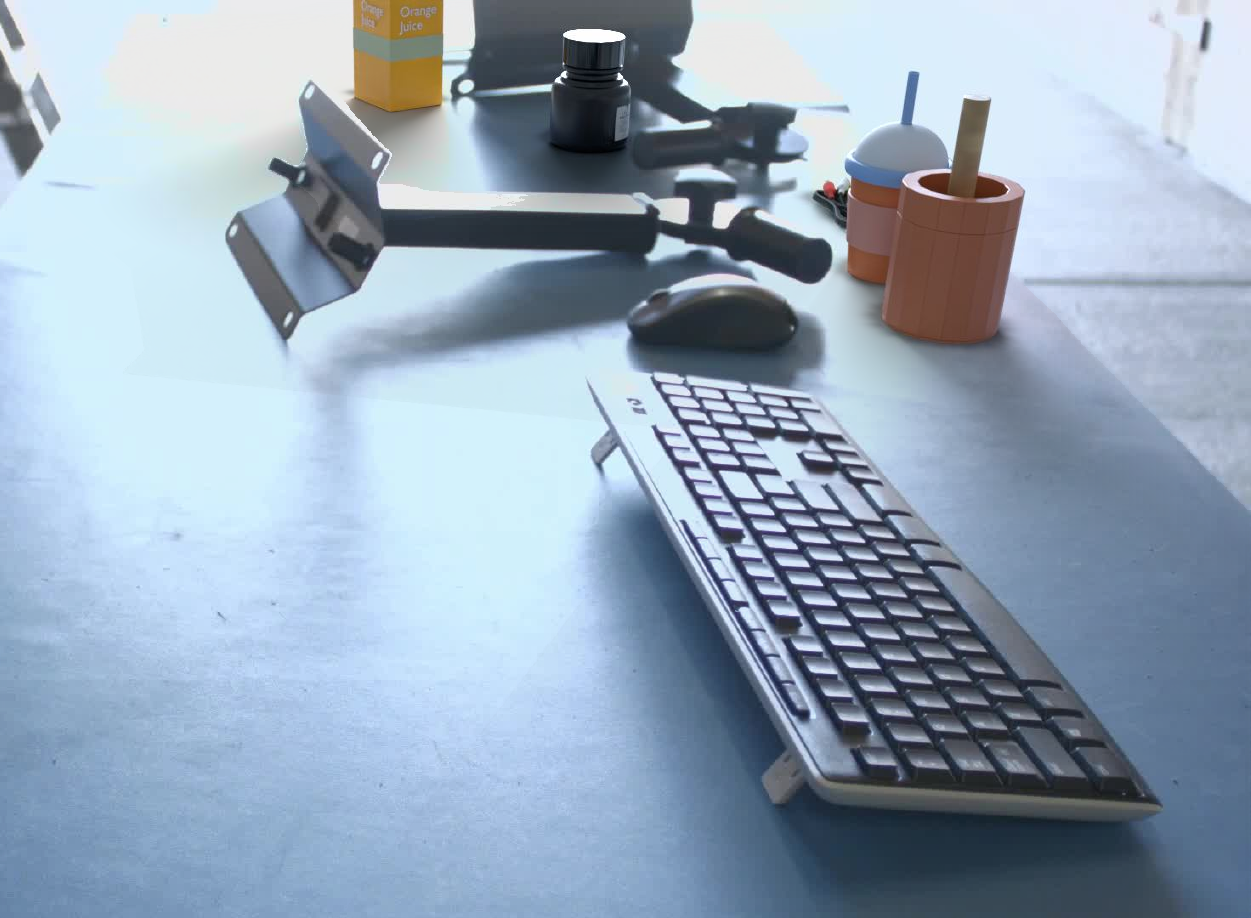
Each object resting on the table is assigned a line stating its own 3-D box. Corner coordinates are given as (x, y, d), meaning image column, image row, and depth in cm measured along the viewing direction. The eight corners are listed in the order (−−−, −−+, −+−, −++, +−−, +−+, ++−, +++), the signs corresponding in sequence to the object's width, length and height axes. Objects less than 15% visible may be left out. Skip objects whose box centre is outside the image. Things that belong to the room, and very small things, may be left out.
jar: (1003, 320, 125) (1031, 178, 120) (987, 358, 118) (1015, 209, 112) (892, 301, 129) (915, 163, 123) (870, 337, 121) (892, 192, 116)
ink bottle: (639, 152, 169) (647, 43, 164) (563, 156, 167) (569, 46, 162) (610, 130, 177) (617, 25, 172) (538, 134, 176) (543, 28, 170)
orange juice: (405, 89, 194) (406, -75, 185) (443, 104, 187) (445, -66, 178) (352, 97, 190) (350, -71, 181) (388, 112, 184) (388, -61, 175)
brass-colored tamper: (971, 315, 124) (1012, 94, 116) (962, 333, 120) (1003, 107, 112) (916, 306, 126) (952, 88, 117) (906, 323, 122) (942, 100, 114)
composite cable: (863, 229, 146) (866, 204, 145) (812, 226, 147) (815, 201, 146) (859, 199, 154) (862, 175, 153) (811, 196, 155) (814, 172, 154)
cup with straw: (815, 261, 137) (842, 60, 129) (912, 259, 138) (944, 59, 130) (850, 298, 129) (881, 86, 121) (953, 295, 130) (990, 84, 122)
